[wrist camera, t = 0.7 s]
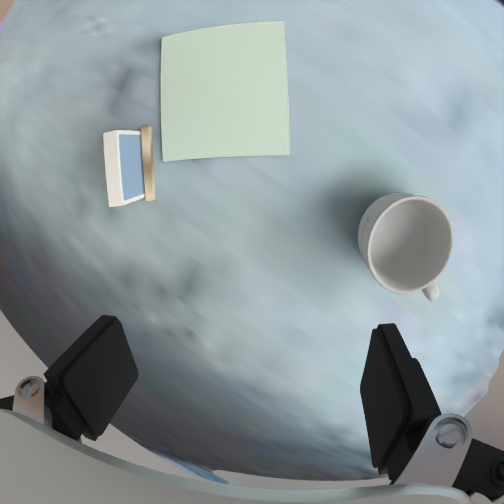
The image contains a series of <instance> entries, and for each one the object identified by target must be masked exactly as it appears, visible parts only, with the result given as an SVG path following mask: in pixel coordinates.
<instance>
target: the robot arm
mask: <svg viewBox="0 0 504 504" xmlns="http://www.w3.org/2000/svg"><path fill="white" fill-rule="evenodd" d="M44 376H45V377H46V379H47V382H46V383H45V382H44V381H43V379H42V378H40V377H38V376H30V377H27V378H25V379H23V380H22V381H21V382H20V383H19V384H18V385H17V387H16V390H15V395H13V396H10V397H5V398H2V399H0V504H504V451H502V450H500V449H497V448H495V447H492V446H490V445H488V444H485V443H482V442H480V441H478V440H476V439H473V438H472V435H473V431H472V427H471V425H470V423H469V422H468V421H467V420H466V419H465V418H464V417H462V416H460V415H458V414H453V413H449V414H443V415H442V414H441V411H440V409H439V406H438V404H437V402H436V399H435V397H434V394H433V392H432V390H431V388H430V385H429V383H428V381H427V379H426V376H425V374H424V372H423V370H422V368H421V365H420V363H419V362H418V360H417V359H416V358H412V357H411V355H410V353H409V351H408V349H407V347H406V345H405V342H404V340H403V338H402V336H401V334H400V332H399V330H398V328H397V326H396V325H395V324H394V323H391V324H379V325H378V327H377V329H373V330H372V335H371V340H370V345H369V350H368V354H367V359H366V363H365V368H364V372H363V376H362V380H361V384H360V393H361V398H362V404H363V409H364V414H365V420H366V426H367V432H368V438H369V444H370V451H371V458H372V465H373V467H374V468H377V467H378V472H379V475H381V474H387V473H388V476H389V479H390V480H391V482H390V484H389V485H382V486H373V487H360V488H349V489H336V490H270V489H256V488H245V487H236V486H228V485H221V484H215V483H209V482H204V481H198V480H193V479H188V478H184V477H179V476H175V475H171V474H167V473H164V472H160V471H156V470H153V469H149V468H146V467H143V466H140V465H136V464H133V463H130V462H127V461H125V460H122V459H119V458H116V457H114V456H111V455H108V454H106V453H103V452H100V451H98V450H96V449H94V448H91V447H89V446H87V445H84V444H82V442H81V437H80V436H81V435H82V434H83V435H84V436H85V437H86V438H88V439H91V440H93V441H96V439H97V438H98V436H100V435H102V434H103V432H104V431H105V429H106V428H107V426H108V424H109V423H110V421H111V419H112V418H113V416H114V415H115V413H116V411H117V410H118V408H119V407H120V405H121V404H122V402H123V400H124V399H125V397H126V396H127V394H128V393H129V391H130V389H131V388H132V386H133V385H134V383H135V382H136V380H137V378H138V369H137V367H136V364H135V361H134V359H133V356H132V353H131V351H130V348H129V345H128V342H127V339H126V336H125V333H124V330H123V327H122V324H121V322H120V321H119V320H118V319H117V317H115V316H109V315H102V316H101V317H100V318H99V319H98V320H96V321H95V322H94V323H93V324H92V325H91V326H90V327H89V328H88V329H87V330H86V331H85V332H84V333H83V334H82V335H81V336H80V337H79V338H78V339H77V340H76V341H75V342H74V343H73V344H72V345H71V346H70V347H69V348H68V349H67V350H66V351H65V352H64V353H63V354H62V355H61V356H60V357H59V358H58V359H57V360H56V361H55V362H54V364H53V365H52V366H51V367H50V368H49V369H48V370H47V371H46V372H45V373H44Z"/></svg>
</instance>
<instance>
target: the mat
mask: <svg viewBox="0 0 504 504" xmlns="http://www.w3.org/2000/svg"><path fill="white" fill-rule="evenodd" d="M161 133H162V155H163V162H165V161H175V160H186V159H198V158H213V157H232V156H265V155H290V140H289V106H288V82H287V62H286V46H285V31H284V21H272V22H254V23H242V24H232V25H224V26H217V27H210V28H204V29H198V30H193V31H188V32H183V33H178V34H174V35H169V36H165V37H162V46H161Z"/></svg>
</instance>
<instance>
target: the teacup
mask: <svg viewBox="0 0 504 504" xmlns="http://www.w3.org/2000/svg"><path fill="white" fill-rule="evenodd" d="M358 245H359V249H360V252H361V255H362V257H363V259H364V261H365V263H366V265H367V266H368V268H369V269H370V271H371V273H372V275H373V277H374V278H375V279H376V281H377V282H378V283H379V284H380V285H381V286H383V287H384V288H385V289H387V290H389V291H391V292H395V293H399V294H409V293H413V292H416V291H419V290H422V291H423V293H424V294H425V296H426V297H427V299H429V300H430V301H433V300H435V299H436V298H437V297H438V296H439V289H438V287H437V285H436V283H435V280H436V279H437V278H438V277H439V276H440V274H441V273H442V271H443V270H444V269H445V267H446V266H447V264H448V261H449V259H450V256H451V253H452V248H453V230H452V225H451V222H450V219H449V217H448V215H447V213H446V212H445V210H444V209H443V208H442V207H441V206H440V205H439V204H438V203H437V202H435V201H434V200H432V199H430V198H427V197H424V196H417V195H412V194H407V193H391V194H387V195H384V196H382V197H380V198H378V199H377V200H376V201H374V202H373V203H372V204H371V205H370V206H369V207H368V208H367V210H366V211H365V213H364V214H363V216H362V219H361V221H360V224H359V229H358Z"/></svg>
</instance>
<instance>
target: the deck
mask: <svg viewBox="0 0 504 504" xmlns="http://www.w3.org/2000/svg"><path fill="white" fill-rule="evenodd" d="M103 138H104V157H105V170H106V181H107V191H108V200H109V207H113V206H123V205H126V204H128V203H131V202H133V201H136V200H139V199H141V198H144V197H146V195H145V185H144V172H143V158H142V139H141V131H128V130H114V131H110V132H106V133H103Z"/></svg>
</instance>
